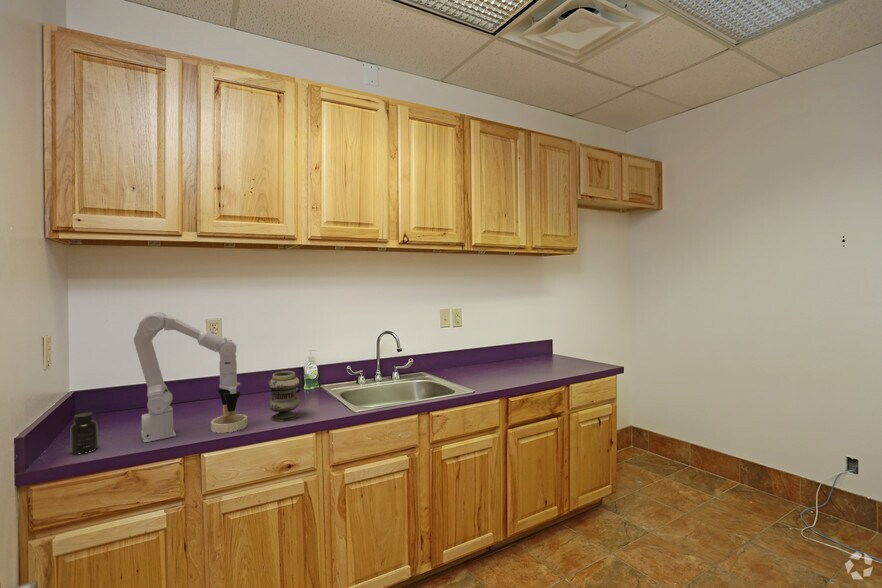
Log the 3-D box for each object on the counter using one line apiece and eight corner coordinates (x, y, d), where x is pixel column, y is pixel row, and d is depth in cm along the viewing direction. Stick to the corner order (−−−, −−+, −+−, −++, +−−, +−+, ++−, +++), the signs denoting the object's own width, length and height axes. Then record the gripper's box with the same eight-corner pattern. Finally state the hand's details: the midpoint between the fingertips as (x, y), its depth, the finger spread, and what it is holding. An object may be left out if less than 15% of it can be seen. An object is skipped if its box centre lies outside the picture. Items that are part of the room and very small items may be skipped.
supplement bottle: (69, 451, 139) (67, 415, 139) (95, 445, 144) (94, 410, 144) (73, 457, 134) (71, 419, 134) (100, 450, 140) (99, 414, 139)
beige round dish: (215, 435, 152) (215, 427, 152) (208, 426, 161) (208, 418, 161) (251, 427, 160) (250, 419, 160) (242, 419, 169) (242, 412, 169)
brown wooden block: (224, 427, 159) (224, 406, 158) (223, 426, 160) (222, 405, 160) (236, 425, 161) (235, 404, 161) (234, 423, 163) (234, 403, 162)
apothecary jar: (272, 424, 163) (271, 377, 163) (265, 415, 173) (264, 372, 173) (304, 418, 170) (303, 373, 169) (296, 410, 180) (295, 368, 179)
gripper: (245, 374, 157) (245, 411, 157) (234, 368, 168) (235, 402, 168) (224, 377, 152) (224, 415, 153) (214, 370, 163) (215, 405, 164)
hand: (228, 408), depth 160 cm, fingers open, 7 cm apart
